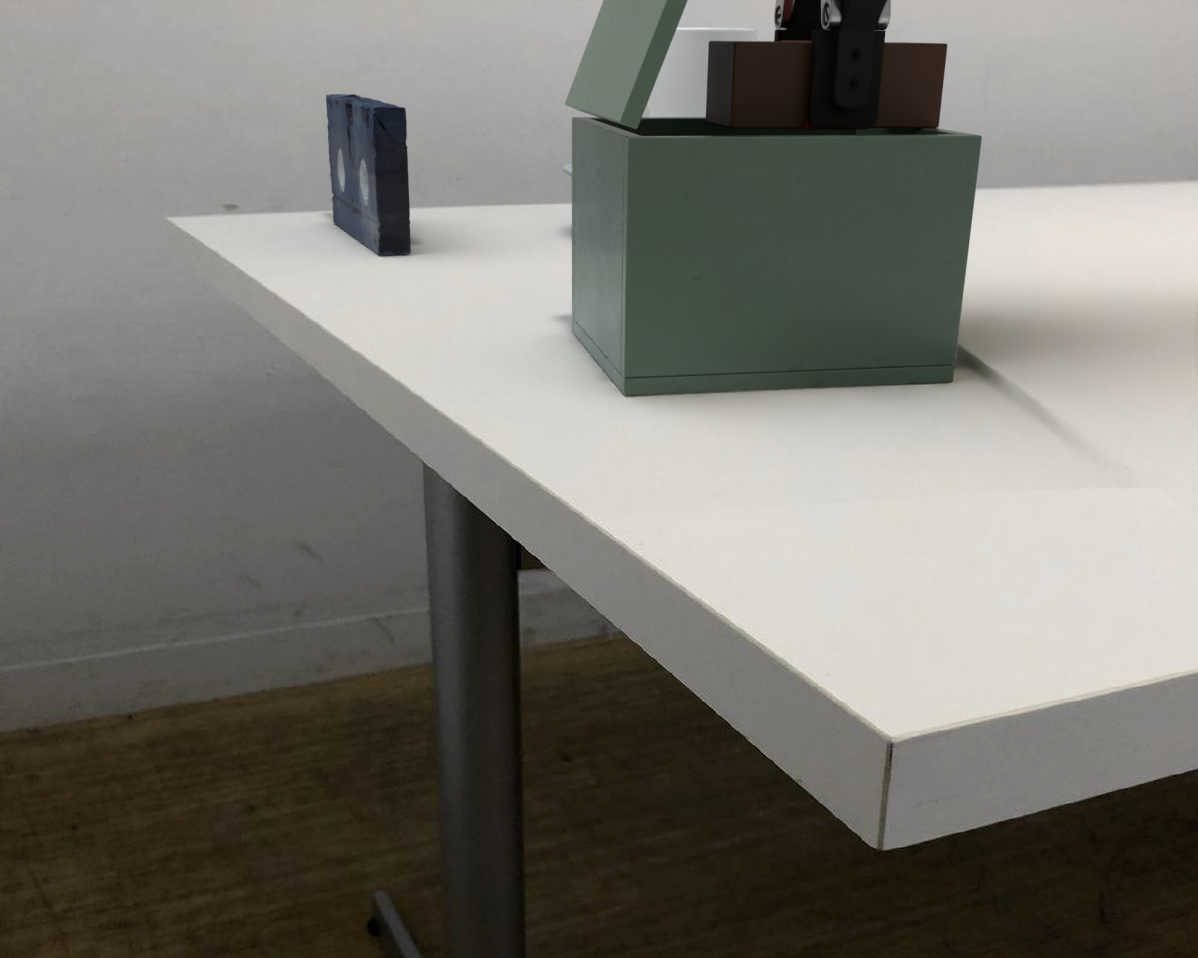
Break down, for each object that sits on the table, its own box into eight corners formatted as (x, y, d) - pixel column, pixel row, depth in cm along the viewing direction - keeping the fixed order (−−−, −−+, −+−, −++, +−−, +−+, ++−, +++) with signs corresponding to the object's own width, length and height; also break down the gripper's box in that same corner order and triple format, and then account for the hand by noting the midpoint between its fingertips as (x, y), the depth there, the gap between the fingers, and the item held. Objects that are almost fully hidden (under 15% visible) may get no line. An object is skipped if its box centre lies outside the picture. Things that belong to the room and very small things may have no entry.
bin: (847, 322, 72) (864, 116, 68) (953, 382, 60) (982, 135, 56) (571, 331, 70) (571, 117, 65) (624, 396, 58) (628, 137, 53)
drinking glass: (667, 264, 90) (674, 27, 84) (760, 272, 87) (774, 28, 82) (626, 278, 85) (630, 27, 79) (723, 288, 82) (735, 27, 76)
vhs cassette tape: (413, 254, 93) (406, 106, 89) (372, 256, 92) (363, 106, 88) (368, 221, 109) (360, 93, 105) (332, 222, 108) (323, 94, 104)
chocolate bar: (900, 123, 64) (908, 41, 63) (939, 129, 60) (949, 42, 59) (704, 123, 62) (707, 39, 61) (731, 130, 58) (735, 40, 57)
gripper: (1040, -400, 47) (976, 136, 54) (865, -295, 62) (833, 112, 69) (843, -415, 46) (804, 136, 53) (713, -305, 61) (697, 112, 68)
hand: (821, 118), depth 61 cm, fingers closed on chocolate bar, 4 cm apart
